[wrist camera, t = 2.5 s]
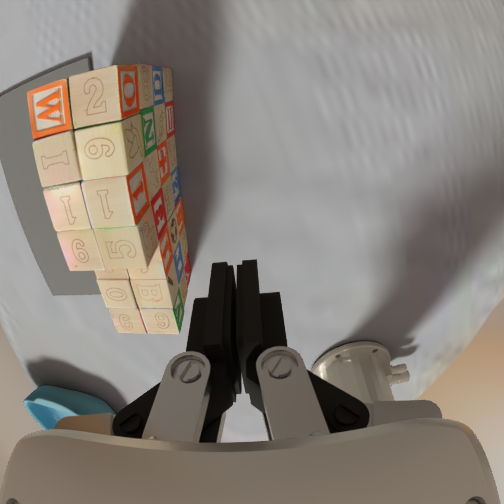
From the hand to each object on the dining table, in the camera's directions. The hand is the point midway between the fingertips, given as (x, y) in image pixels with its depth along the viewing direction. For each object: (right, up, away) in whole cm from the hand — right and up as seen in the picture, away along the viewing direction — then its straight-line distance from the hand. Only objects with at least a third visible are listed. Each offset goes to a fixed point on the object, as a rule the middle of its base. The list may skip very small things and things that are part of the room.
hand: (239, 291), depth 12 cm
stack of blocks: (-9, +8, +16) cm, 20 cm away
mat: (-20, +8, +16) cm, 27 cm away
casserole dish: (-36, -37, +44) cm, 68 cm away
